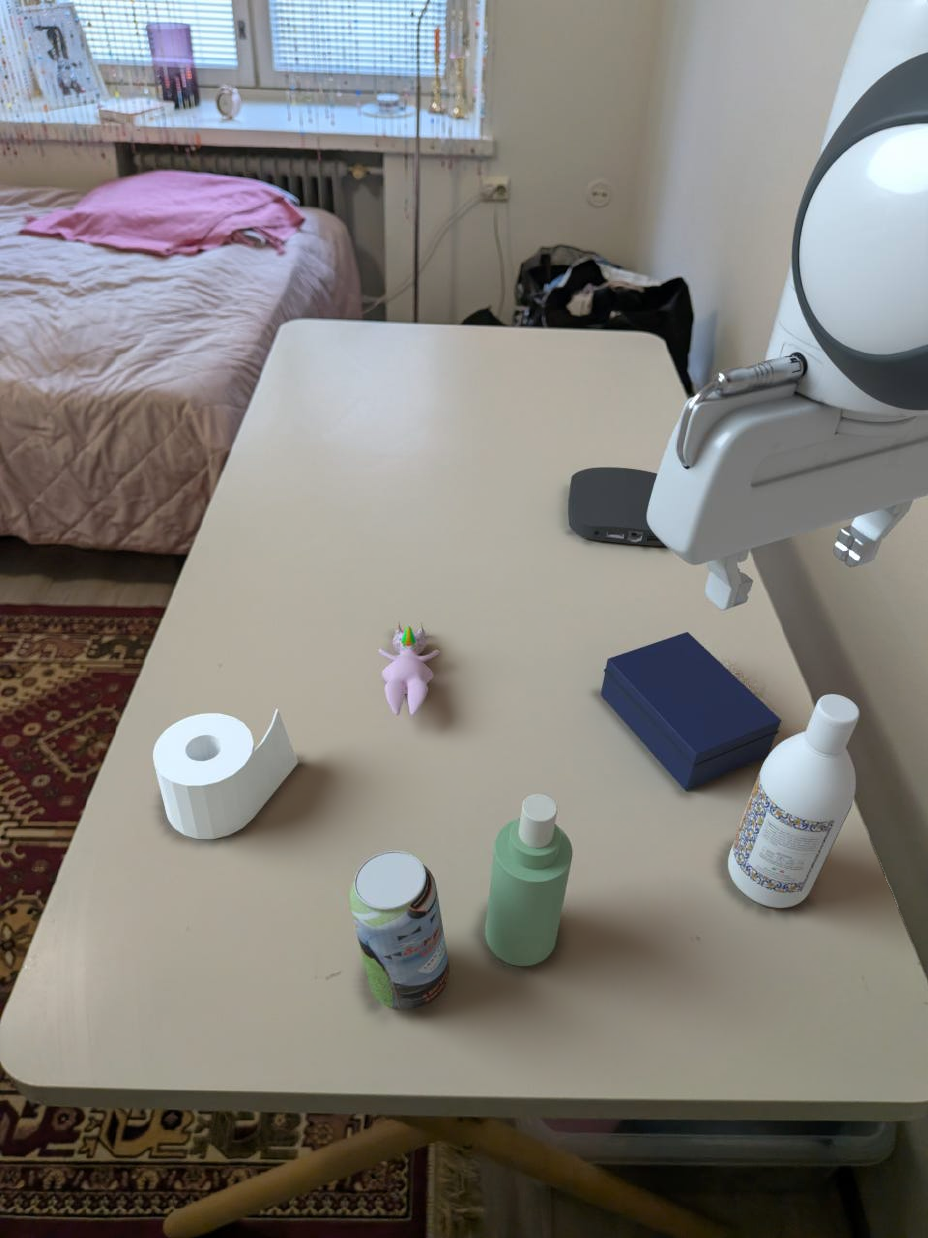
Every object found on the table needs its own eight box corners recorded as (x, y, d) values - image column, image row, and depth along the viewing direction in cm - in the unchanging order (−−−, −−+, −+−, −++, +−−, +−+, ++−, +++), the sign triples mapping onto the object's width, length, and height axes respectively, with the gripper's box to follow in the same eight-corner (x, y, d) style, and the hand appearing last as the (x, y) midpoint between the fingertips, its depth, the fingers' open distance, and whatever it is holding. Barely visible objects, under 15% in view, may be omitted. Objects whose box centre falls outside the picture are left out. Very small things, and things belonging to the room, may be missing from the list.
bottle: (569, 948, 72) (596, 822, 62) (507, 978, 70) (525, 852, 60) (532, 893, 76) (552, 765, 66) (472, 919, 74) (484, 791, 64)
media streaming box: (675, 489, 126) (679, 470, 124) (684, 551, 115) (689, 531, 113) (568, 480, 127) (571, 461, 125) (567, 540, 116) (569, 520, 114)
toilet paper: (297, 763, 86) (292, 709, 81) (224, 853, 78) (214, 799, 73) (224, 733, 88) (215, 680, 84) (146, 818, 80) (131, 764, 76)
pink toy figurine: (381, 645, 101) (371, 728, 88) (381, 597, 98) (371, 676, 85) (438, 647, 101) (437, 730, 88) (440, 599, 98) (439, 678, 85)
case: (772, 755, 89) (786, 719, 86) (685, 792, 85) (696, 755, 82) (681, 665, 98) (690, 629, 95) (599, 694, 94) (606, 658, 91)
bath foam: (761, 828, 82) (827, 661, 69) (826, 883, 78) (910, 716, 65) (709, 866, 79) (768, 698, 66) (774, 926, 75) (851, 758, 62)
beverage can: (429, 1032, 67) (432, 940, 59) (338, 994, 68) (330, 900, 61) (461, 958, 71) (469, 864, 63) (375, 924, 73) (372, 829, 65)
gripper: (742, 409, 37) (675, 666, 45) (1070, 334, 44) (959, 566, 53) (648, 348, 41) (603, 594, 50) (962, 289, 49) (876, 511, 57)
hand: (790, 579), depth 52 cm, fingers open, 8 cm apart
